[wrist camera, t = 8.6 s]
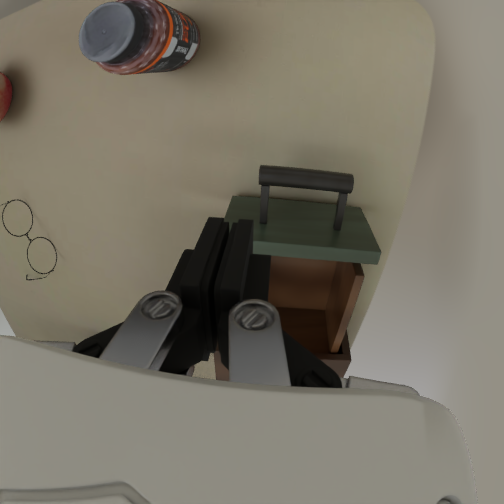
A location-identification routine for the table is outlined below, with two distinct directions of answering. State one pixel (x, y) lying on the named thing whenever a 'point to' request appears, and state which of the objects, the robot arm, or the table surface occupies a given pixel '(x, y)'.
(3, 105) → the fruit
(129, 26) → the supplement bottle
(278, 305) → the drawer
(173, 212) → the table surface
